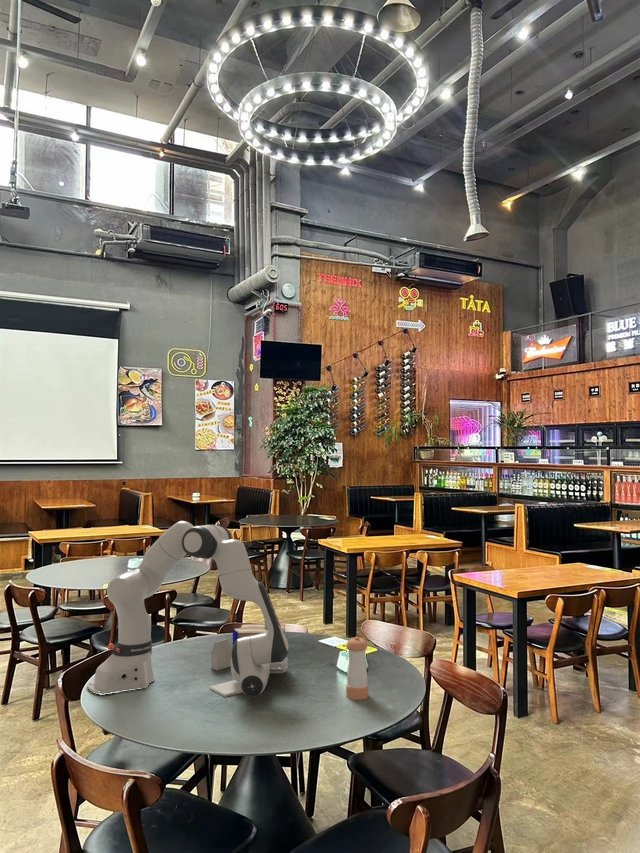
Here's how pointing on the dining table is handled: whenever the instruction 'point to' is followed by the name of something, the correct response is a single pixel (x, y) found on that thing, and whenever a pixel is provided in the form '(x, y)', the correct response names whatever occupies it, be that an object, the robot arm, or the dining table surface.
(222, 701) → the dining table surface
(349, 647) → the pepper shaker
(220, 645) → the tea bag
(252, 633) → the box
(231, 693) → the ceramic tile
